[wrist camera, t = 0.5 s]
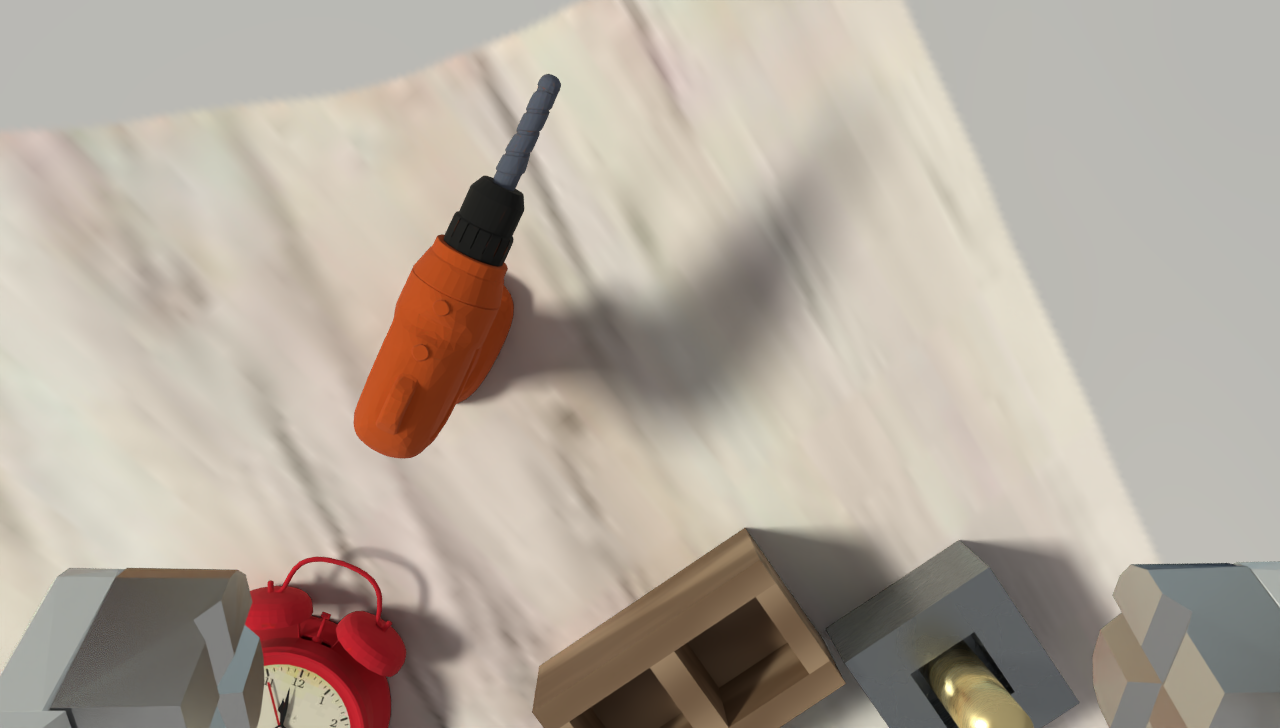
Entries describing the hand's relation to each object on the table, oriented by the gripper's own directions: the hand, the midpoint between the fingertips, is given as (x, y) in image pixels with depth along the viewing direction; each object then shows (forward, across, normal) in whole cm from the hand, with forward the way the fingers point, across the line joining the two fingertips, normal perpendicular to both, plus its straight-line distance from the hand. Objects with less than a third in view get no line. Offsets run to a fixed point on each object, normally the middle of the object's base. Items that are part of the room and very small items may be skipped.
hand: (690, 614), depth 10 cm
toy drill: (+47, -6, -20) cm, 51 cm away
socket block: (+37, +19, -39) cm, 57 cm away
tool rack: (+37, +5, -40) cm, 54 cm away
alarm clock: (+37, -16, -42) cm, 58 cm away
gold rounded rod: (+36, +19, -39) cm, 56 cm away
